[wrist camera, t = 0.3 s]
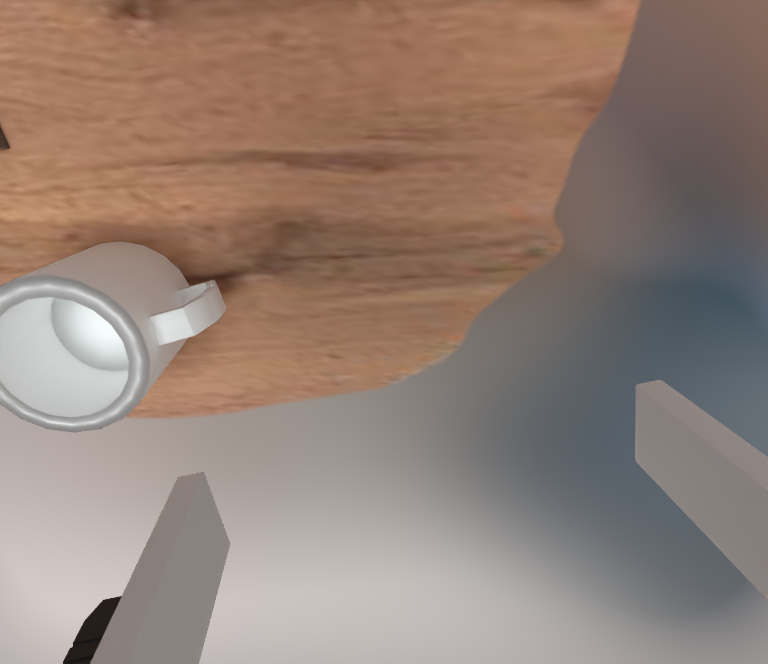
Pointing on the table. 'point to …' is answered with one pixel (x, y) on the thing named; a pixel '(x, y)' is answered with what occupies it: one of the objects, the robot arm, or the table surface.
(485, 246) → the table surface
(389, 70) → the table surface
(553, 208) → the table surface
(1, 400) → the mug
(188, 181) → the table surface
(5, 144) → the double window frame
